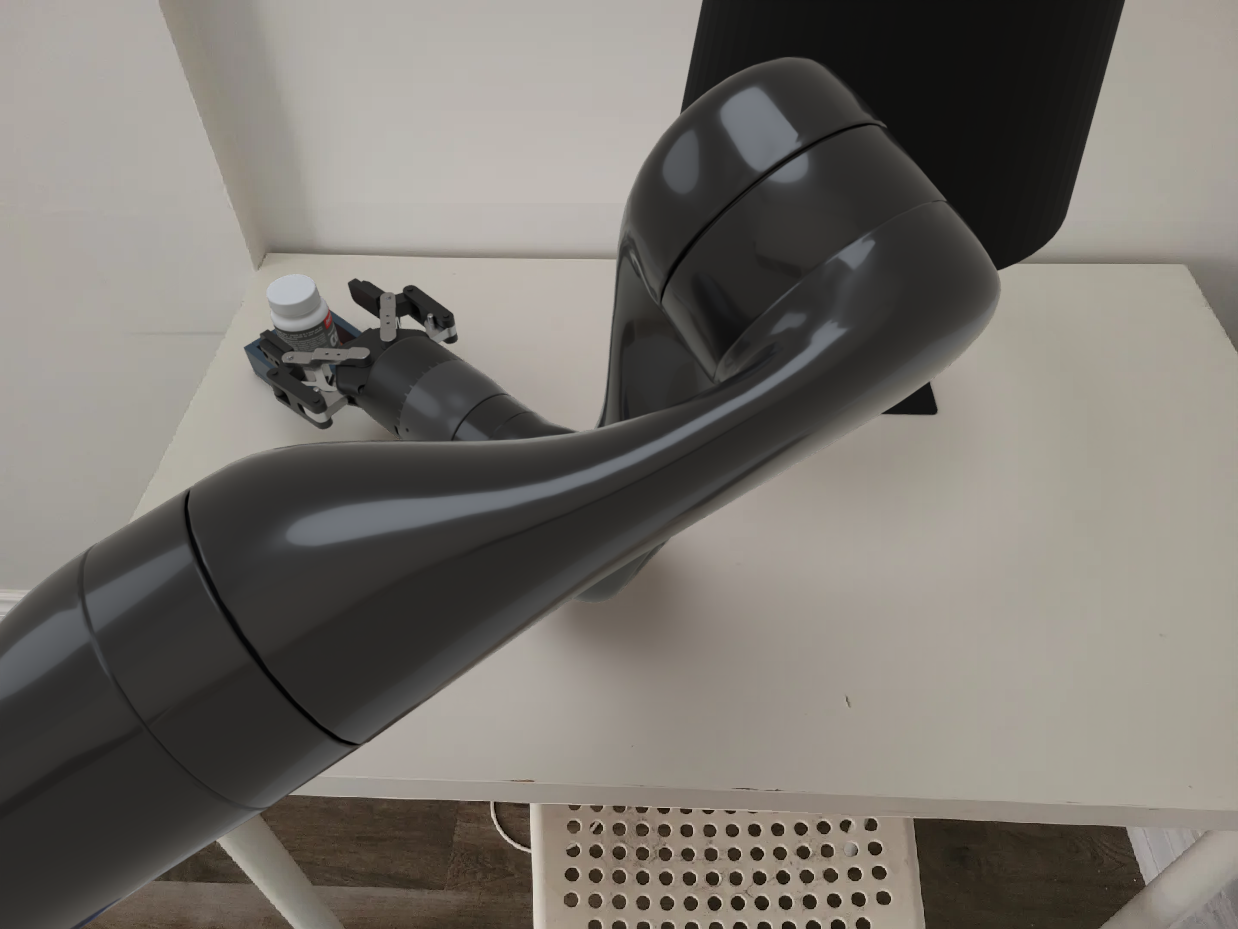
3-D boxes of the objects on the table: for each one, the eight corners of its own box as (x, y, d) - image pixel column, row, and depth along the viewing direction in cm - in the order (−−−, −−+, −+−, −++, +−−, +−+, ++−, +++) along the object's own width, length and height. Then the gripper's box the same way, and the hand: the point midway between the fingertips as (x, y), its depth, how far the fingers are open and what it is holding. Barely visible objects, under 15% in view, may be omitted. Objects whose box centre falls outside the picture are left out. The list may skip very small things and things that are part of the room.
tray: (308, 416, 75) (298, 390, 73) (254, 372, 79) (242, 347, 76) (382, 367, 79) (375, 341, 77) (328, 327, 83) (319, 302, 80)
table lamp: (923, 296, 85) (1090, -211, 55) (994, 532, 67) (1302, -30, 37) (660, 292, 86) (681, -212, 55) (660, 524, 68) (691, -35, 37)
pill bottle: (352, 370, 78) (328, 295, 71) (300, 389, 76) (270, 314, 70) (335, 339, 81) (310, 264, 74) (284, 356, 79) (255, 281, 73)
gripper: (507, 320, 65) (369, 235, 72) (353, 426, 58) (217, 321, 65) (516, 391, 71) (388, 307, 78) (377, 496, 64) (250, 392, 71)
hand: (310, 313), depth 72 cm, fingers open, 8 cm apart
